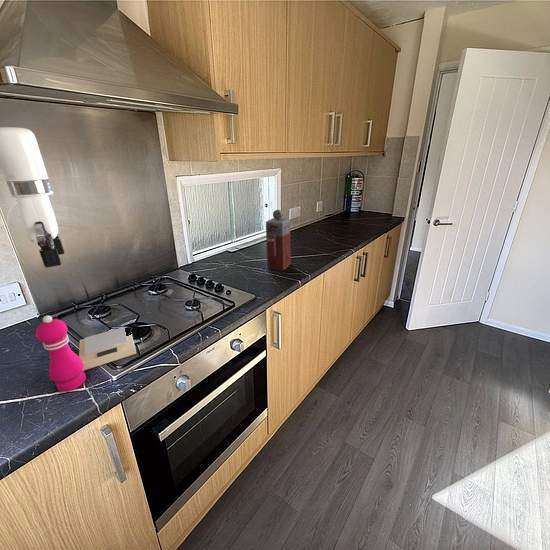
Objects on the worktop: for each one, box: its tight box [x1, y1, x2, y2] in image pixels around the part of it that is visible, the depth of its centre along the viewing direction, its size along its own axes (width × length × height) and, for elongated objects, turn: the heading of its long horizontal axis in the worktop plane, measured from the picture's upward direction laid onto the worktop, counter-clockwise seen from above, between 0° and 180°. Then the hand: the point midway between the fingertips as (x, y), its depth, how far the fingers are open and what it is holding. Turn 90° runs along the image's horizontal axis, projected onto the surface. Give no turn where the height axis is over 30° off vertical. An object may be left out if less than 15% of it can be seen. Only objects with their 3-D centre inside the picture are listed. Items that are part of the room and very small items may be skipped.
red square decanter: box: [265, 209, 292, 271], centre depth 140 cm, size 9×11×28 cm
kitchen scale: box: [78, 326, 137, 372], centre depth 87 cm, size 14×13×3 cm
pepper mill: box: [35, 315, 87, 393], centre depth 72 cm, size 7×7×20 cm
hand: (55, 260), depth 73 cm, fingers open, 9 cm apart
